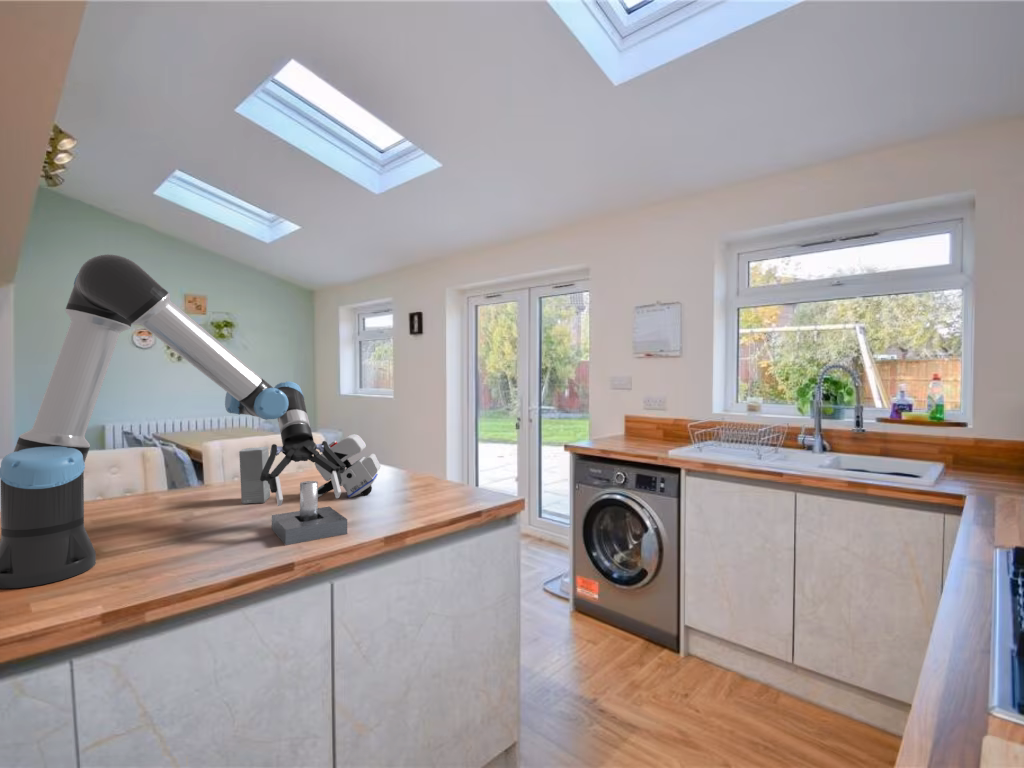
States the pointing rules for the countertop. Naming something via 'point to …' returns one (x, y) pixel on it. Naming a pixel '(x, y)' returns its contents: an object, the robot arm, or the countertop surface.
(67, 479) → the robot arm
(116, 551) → the countertop surface
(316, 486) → the grey black cylinder
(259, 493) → the product box
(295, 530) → the chuck block
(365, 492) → the robotic device
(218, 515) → the countertop surface
